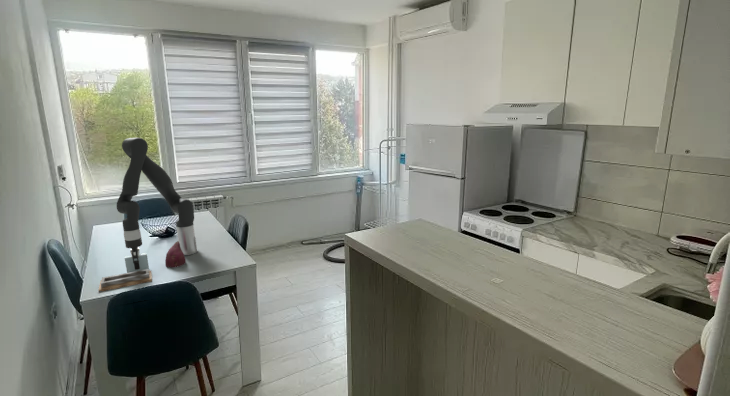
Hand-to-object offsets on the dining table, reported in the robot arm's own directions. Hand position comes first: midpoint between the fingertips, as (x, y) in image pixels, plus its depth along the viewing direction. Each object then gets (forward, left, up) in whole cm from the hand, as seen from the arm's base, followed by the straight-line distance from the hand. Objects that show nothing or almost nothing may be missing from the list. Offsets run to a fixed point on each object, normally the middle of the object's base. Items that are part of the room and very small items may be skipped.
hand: (137, 266), depth 198 cm
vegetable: (-18, 0, -3) cm, 18 cm away
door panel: (0, 0, -3) cm, 3 cm away
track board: (+5, +12, -3) cm, 13 cm away
